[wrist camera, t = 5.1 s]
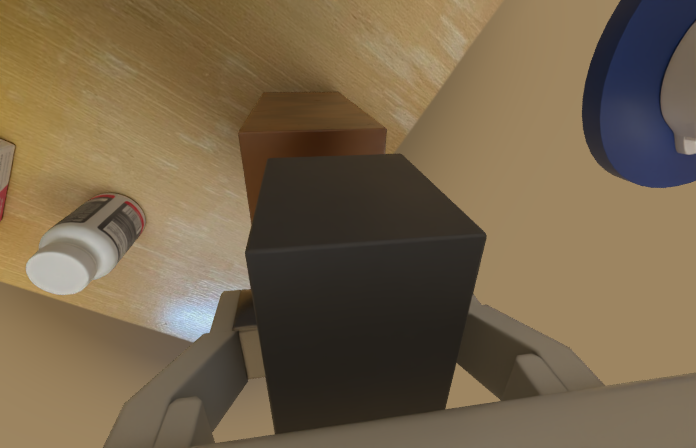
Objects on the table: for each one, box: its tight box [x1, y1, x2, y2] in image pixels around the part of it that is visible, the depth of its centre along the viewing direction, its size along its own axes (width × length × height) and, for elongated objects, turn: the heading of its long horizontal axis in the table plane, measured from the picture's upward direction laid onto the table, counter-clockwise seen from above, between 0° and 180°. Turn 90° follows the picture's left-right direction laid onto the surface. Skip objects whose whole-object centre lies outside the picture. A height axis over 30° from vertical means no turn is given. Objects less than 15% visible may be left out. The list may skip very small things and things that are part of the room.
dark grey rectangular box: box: [245, 154, 486, 434], centre depth 9 cm, size 4×8×5 cm, turn 179°
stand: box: [238, 92, 387, 225], centre depth 24 cm, size 7×7×17 cm
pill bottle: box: [26, 193, 146, 295], centre depth 28 cm, size 5×5×10 cm
